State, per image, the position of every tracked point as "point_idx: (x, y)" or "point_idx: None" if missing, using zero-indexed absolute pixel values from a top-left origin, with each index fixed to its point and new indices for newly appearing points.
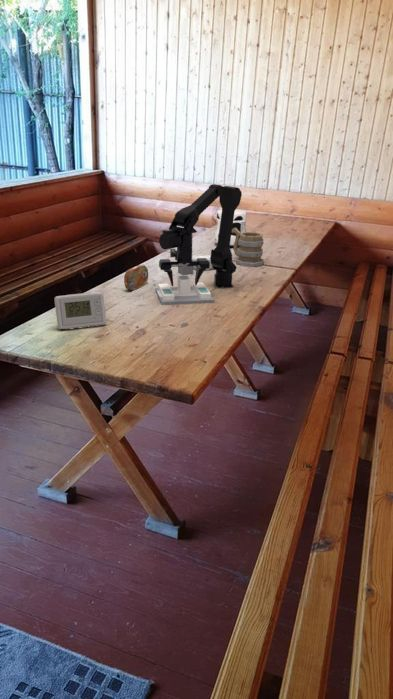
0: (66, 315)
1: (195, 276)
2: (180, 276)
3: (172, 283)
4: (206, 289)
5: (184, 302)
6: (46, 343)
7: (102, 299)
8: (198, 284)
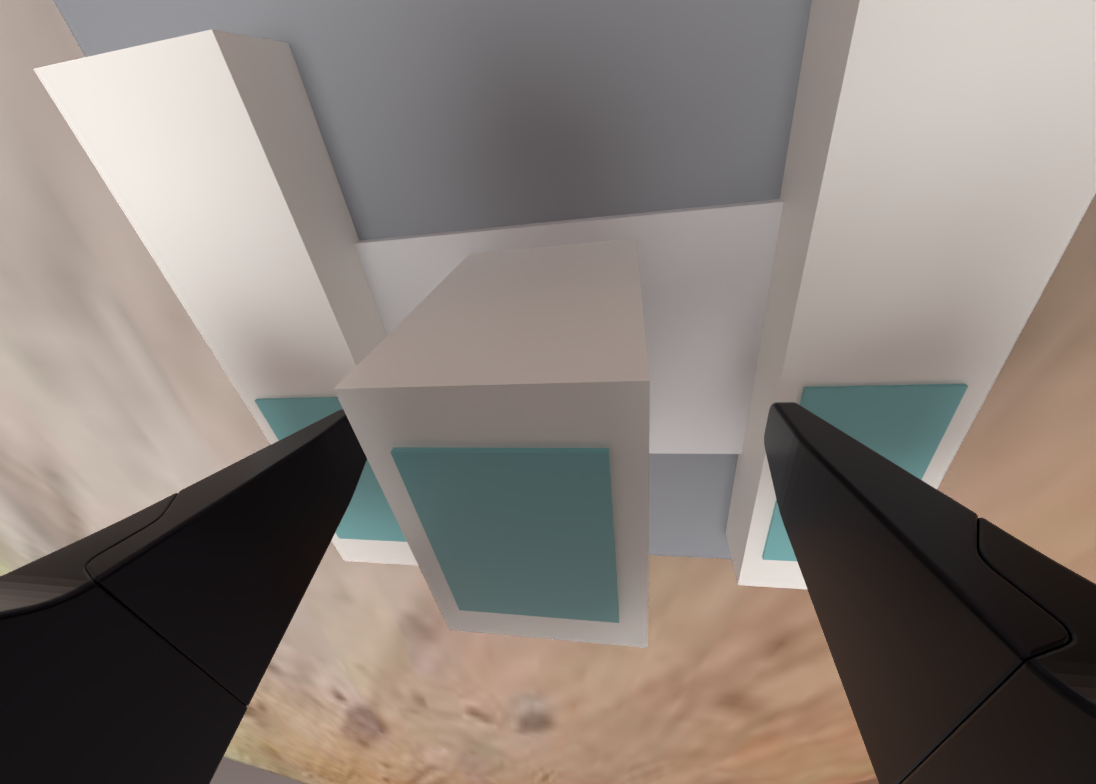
0: None
1: (870, 520)
2: (422, 465)
3: (342, 494)
4: (919, 473)
5: None
6: None
7: None
8: (962, 119)
